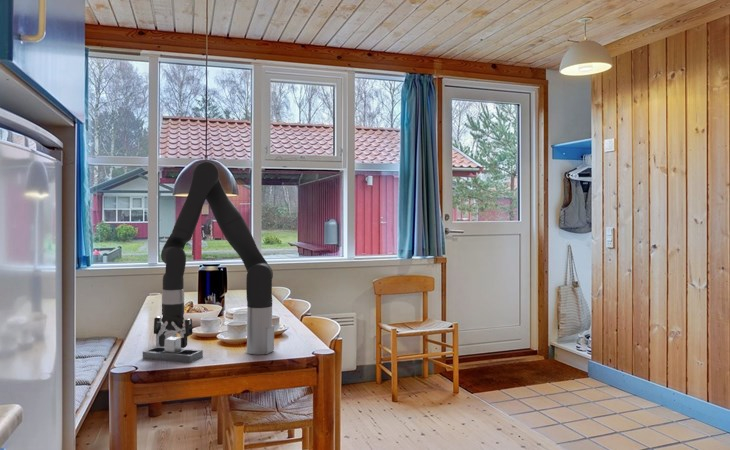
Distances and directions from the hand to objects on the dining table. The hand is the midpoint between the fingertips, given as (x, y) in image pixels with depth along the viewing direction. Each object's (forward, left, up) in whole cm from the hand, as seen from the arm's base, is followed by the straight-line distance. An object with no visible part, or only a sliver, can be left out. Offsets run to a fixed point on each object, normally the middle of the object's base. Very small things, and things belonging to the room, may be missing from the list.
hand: (172, 346), depth 184 cm
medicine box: (+14, -16, -4) cm, 22 cm away
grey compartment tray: (0, 0, -4) cm, 4 cm away
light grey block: (0, 0, -4) cm, 4 cm away
